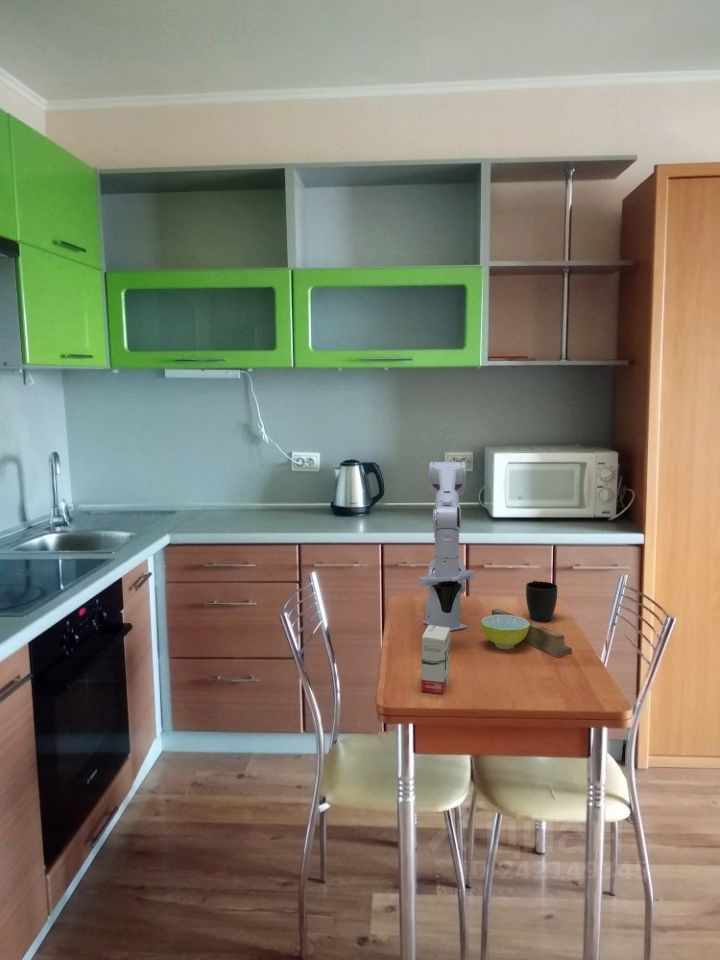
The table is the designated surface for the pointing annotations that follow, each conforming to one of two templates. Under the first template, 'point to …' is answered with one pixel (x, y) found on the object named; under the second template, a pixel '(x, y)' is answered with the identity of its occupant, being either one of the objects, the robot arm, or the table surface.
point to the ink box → (435, 659)
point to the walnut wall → (542, 638)
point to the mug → (541, 600)
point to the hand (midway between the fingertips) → (446, 611)
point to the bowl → (505, 630)
